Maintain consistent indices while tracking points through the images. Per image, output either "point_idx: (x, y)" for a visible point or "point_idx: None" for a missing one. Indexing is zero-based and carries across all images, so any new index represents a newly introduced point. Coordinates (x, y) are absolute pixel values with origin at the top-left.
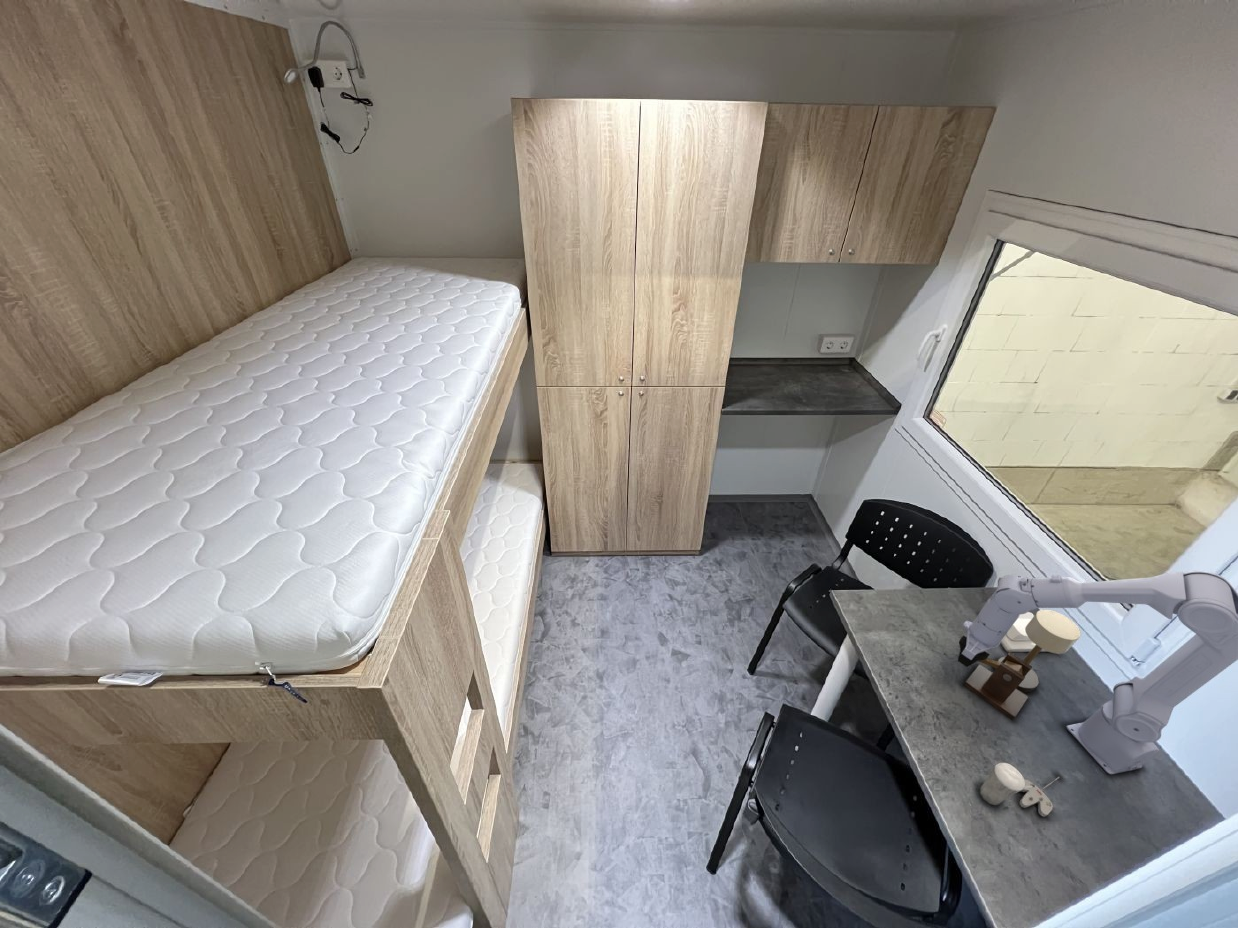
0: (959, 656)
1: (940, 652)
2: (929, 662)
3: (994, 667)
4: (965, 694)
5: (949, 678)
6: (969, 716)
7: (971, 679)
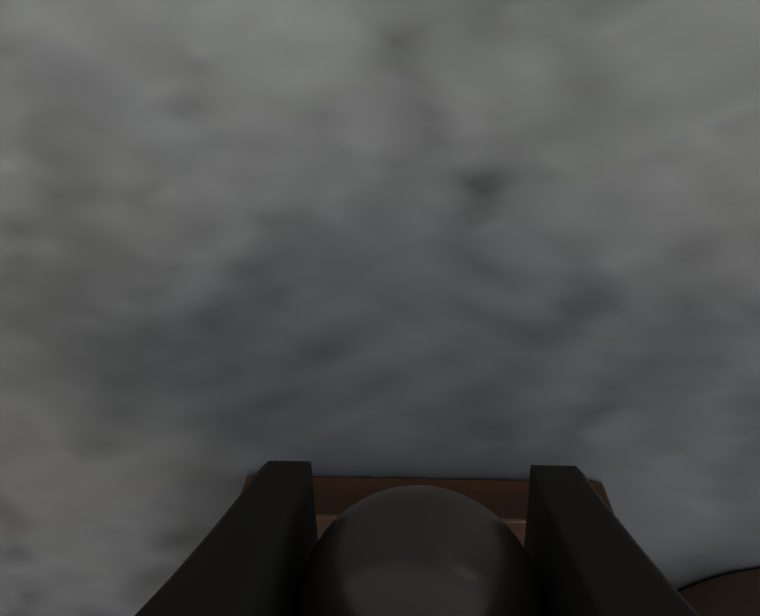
0: (208, 538)
1: (459, 137)
2: (165, 124)
3: (730, 576)
4: (164, 518)
5: (185, 368)
6: (3, 597)
7: (318, 537)
